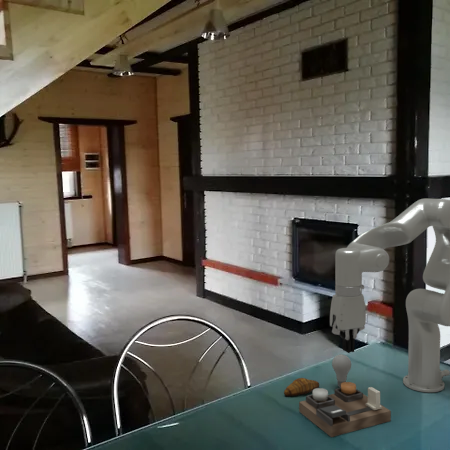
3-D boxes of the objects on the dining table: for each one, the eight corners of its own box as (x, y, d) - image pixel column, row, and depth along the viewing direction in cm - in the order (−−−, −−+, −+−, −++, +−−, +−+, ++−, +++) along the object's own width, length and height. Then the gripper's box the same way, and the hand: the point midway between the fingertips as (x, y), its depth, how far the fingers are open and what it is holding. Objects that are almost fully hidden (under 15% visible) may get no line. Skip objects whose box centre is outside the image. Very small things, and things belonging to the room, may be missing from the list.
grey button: (322, 392, 149) (322, 387, 149) (331, 398, 145) (331, 392, 145) (309, 395, 148) (309, 390, 147) (318, 401, 144) (318, 395, 143)
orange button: (349, 386, 153) (349, 380, 153) (359, 392, 149) (359, 386, 149) (337, 389, 152) (337, 383, 151) (346, 395, 148) (346, 389, 147)
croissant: (291, 401, 155) (291, 386, 155) (278, 393, 161) (278, 378, 161) (325, 391, 162) (325, 376, 161) (312, 384, 168) (312, 369, 167)
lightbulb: (351, 392, 160) (351, 358, 159) (332, 391, 161) (332, 358, 160) (350, 384, 166) (350, 352, 165) (332, 383, 167) (331, 351, 166)
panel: (354, 398, 156) (354, 383, 156) (390, 420, 141) (390, 404, 141) (298, 411, 148) (298, 396, 148) (330, 437, 134) (330, 420, 133)
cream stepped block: (373, 403, 145) (373, 386, 145) (382, 408, 142) (382, 391, 142) (365, 405, 144) (365, 388, 144) (374, 410, 141) (374, 393, 140)
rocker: (333, 408, 141) (332, 405, 141) (346, 414, 136) (345, 410, 136) (319, 412, 139) (319, 408, 139) (332, 418, 134) (332, 413, 134)
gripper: (361, 285, 154) (361, 343, 156) (319, 290, 148) (319, 351, 150) (377, 290, 147) (377, 351, 149) (334, 296, 141) (334, 359, 143)
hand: (348, 350), depth 149 cm, fingers closed
